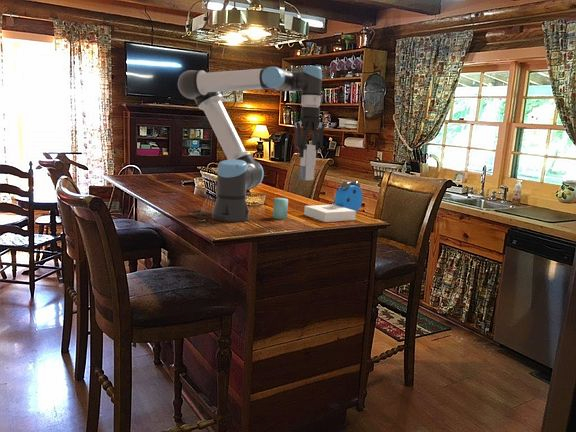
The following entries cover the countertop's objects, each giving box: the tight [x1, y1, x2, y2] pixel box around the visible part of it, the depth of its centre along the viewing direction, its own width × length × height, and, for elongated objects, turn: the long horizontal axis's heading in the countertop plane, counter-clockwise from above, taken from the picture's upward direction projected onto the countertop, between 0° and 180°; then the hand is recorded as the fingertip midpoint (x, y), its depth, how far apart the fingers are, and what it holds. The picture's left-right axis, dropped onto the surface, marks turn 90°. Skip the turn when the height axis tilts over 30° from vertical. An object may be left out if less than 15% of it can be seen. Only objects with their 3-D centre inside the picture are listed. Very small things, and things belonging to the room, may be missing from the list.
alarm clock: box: [334, 180, 364, 213], centre depth 227 cm, size 13×6×15 cm, turn 131°
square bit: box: [299, 144, 316, 181], centre depth 200 cm, size 4×4×14 cm
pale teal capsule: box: [272, 197, 289, 220], centre depth 208 cm, size 6×6×8 cm
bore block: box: [303, 204, 357, 223], centre depth 216 cm, size 16×16×4 cm
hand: (307, 165), depth 200 cm, fingers closed on square bit, 4 cm apart
